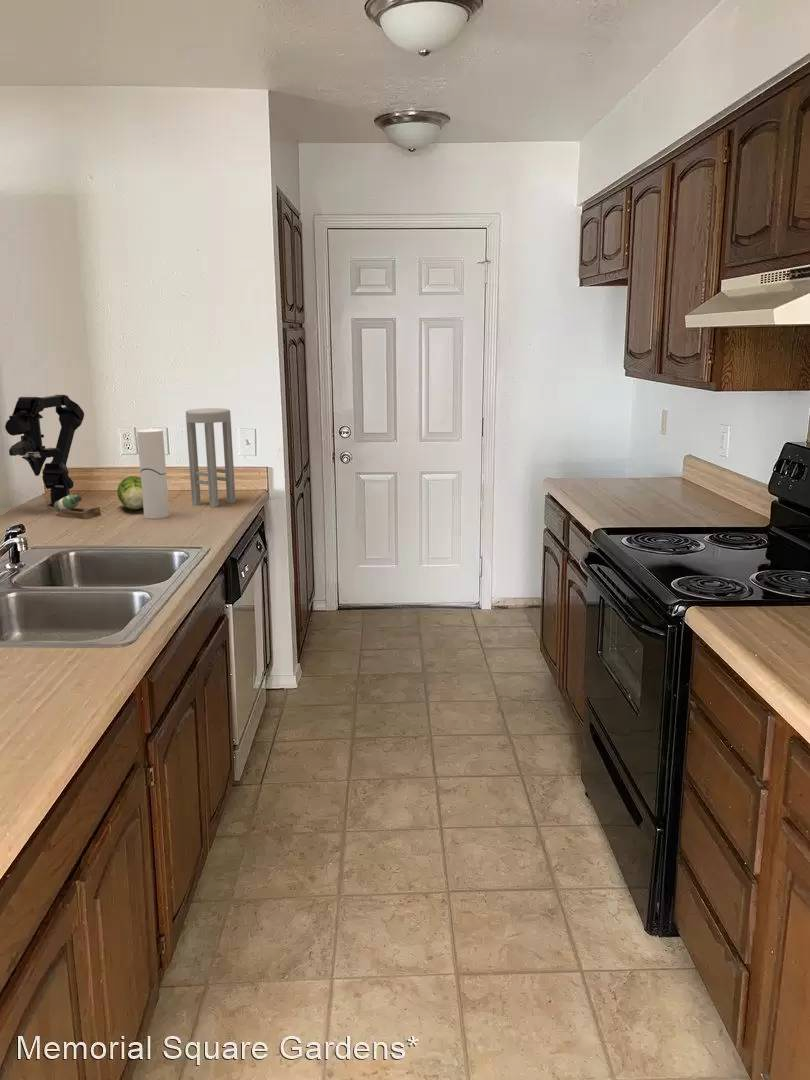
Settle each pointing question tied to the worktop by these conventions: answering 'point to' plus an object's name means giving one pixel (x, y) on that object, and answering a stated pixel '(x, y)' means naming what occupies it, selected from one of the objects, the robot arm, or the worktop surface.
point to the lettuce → (131, 492)
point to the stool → (210, 454)
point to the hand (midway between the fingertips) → (37, 475)
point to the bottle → (67, 503)
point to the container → (153, 473)
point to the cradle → (81, 513)
